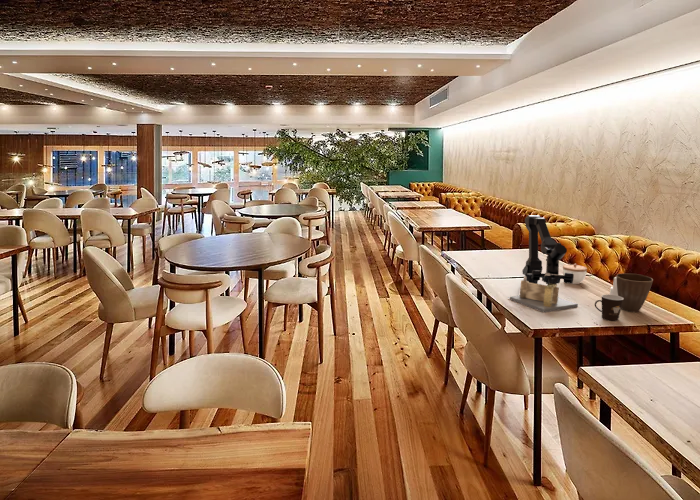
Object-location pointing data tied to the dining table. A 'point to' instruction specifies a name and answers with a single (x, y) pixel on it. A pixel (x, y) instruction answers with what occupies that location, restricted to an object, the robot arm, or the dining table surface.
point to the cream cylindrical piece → (614, 288)
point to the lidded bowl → (575, 272)
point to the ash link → (536, 291)
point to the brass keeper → (549, 294)
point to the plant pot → (633, 290)
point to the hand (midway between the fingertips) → (551, 291)
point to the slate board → (539, 304)
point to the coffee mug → (610, 307)
